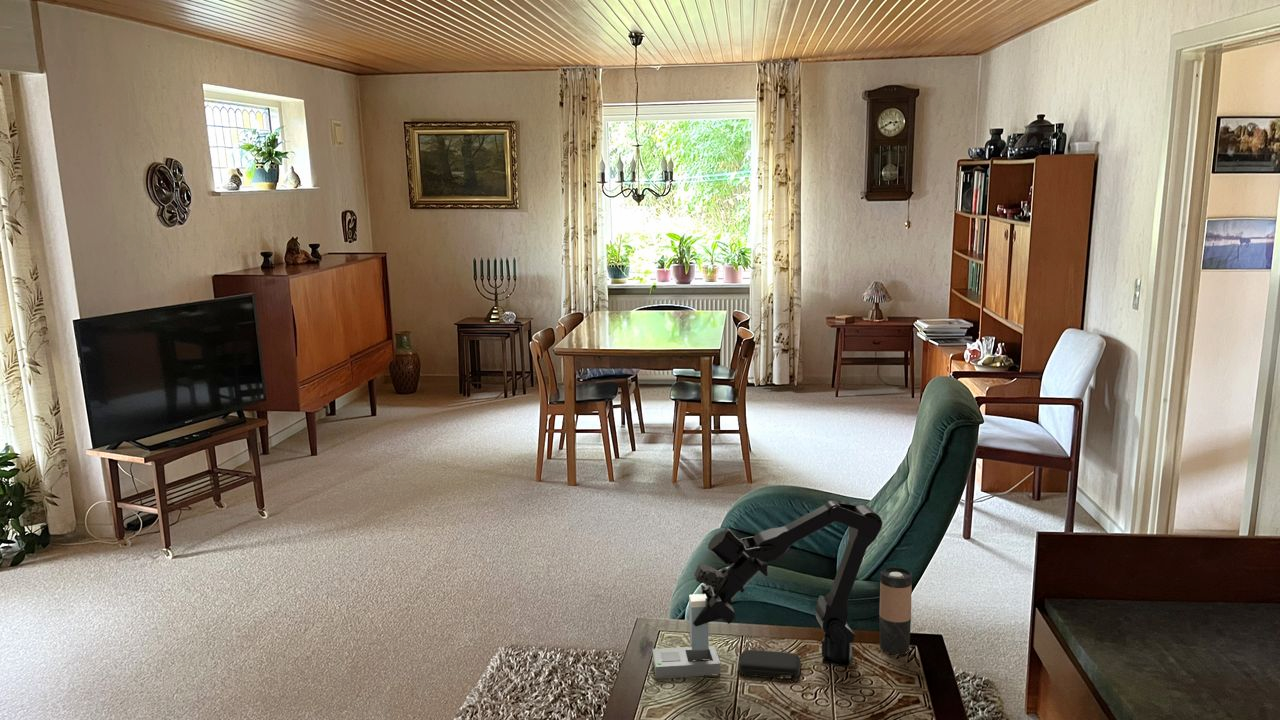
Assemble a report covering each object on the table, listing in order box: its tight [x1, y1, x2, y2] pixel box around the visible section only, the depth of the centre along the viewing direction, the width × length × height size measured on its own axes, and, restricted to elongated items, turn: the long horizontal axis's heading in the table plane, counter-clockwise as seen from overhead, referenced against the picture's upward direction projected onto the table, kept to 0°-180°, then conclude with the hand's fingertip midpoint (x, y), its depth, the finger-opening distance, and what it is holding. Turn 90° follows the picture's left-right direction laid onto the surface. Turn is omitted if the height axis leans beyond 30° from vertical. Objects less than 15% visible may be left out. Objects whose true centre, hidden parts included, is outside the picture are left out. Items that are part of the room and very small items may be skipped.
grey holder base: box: [652, 645, 721, 680], centre depth 214 cm, size 16×9×3 cm, turn 94°
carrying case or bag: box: [737, 649, 802, 680], centre depth 213 cm, size 11×3×15 cm
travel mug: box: [878, 566, 913, 655], centre depth 221 cm, size 8×8×20 cm
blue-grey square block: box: [688, 593, 710, 651], centre depth 213 cm, size 4×4×12 cm
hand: (693, 621), depth 213 cm, fingers closed on blue-grey square block, 4 cm apart
